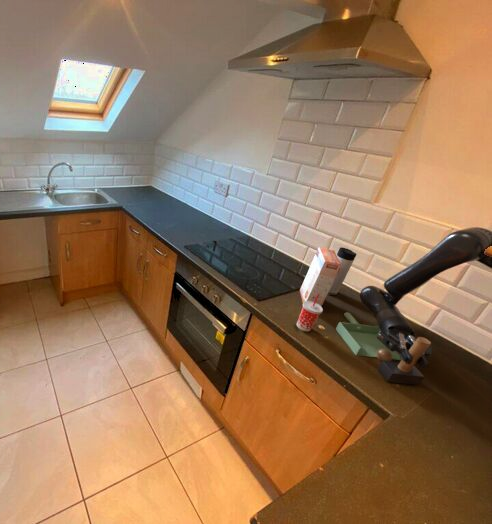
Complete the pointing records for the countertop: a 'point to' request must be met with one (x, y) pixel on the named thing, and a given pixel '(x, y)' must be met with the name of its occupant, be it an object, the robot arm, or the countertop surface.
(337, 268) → the cracker box
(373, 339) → the dustpan
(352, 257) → the travel mug
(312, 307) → the beverage cup
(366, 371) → the countertop surface
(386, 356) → the cork ball
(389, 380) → the brush
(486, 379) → the countertop surface
